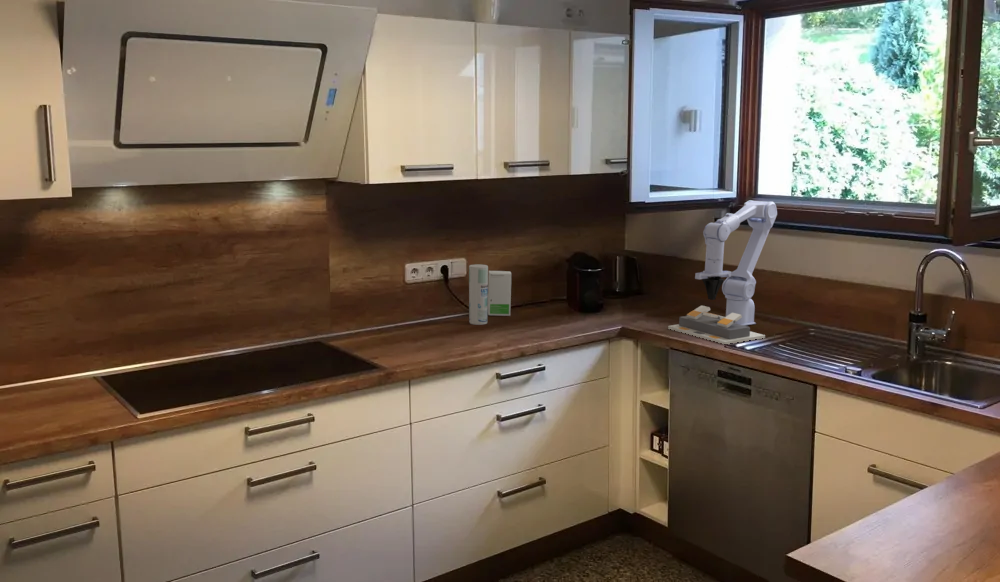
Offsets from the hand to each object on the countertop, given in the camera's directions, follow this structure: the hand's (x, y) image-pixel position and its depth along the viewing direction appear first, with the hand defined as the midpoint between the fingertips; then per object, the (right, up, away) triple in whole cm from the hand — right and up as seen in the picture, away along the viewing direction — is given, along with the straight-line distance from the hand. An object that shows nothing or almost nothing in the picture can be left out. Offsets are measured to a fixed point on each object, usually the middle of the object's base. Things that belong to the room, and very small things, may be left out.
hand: (711, 299), depth 289 cm
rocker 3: (+3, -7, -11) cm, 13 cm away
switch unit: (0, -11, -4) cm, 12 cm away
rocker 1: (-4, -5, +1) cm, 6 cm away
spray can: (-78, -8, +10) cm, 80 cm away
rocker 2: (0, -6, -5) cm, 8 cm away
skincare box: (-71, -6, +25) cm, 76 cm away
